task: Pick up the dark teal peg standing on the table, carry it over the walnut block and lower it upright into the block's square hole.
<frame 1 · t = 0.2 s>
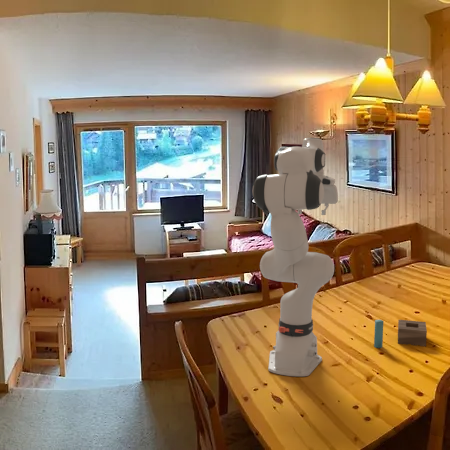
hand: (311, 214, 211), 47 cm above the table, tool pointing down, fingers open, 8 cm apart
teal peg: (378, 346, 199), on the table
walnut hole block: (411, 339, 205), on the table
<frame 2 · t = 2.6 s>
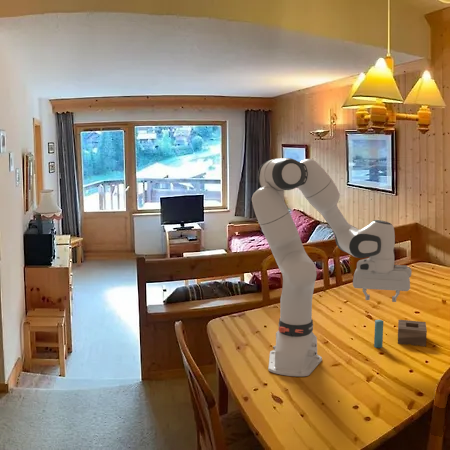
hand: (380, 300, 196), 18 cm above the table, tool pointing down, fingers open, 8 cm apart
nothing on the table moved.
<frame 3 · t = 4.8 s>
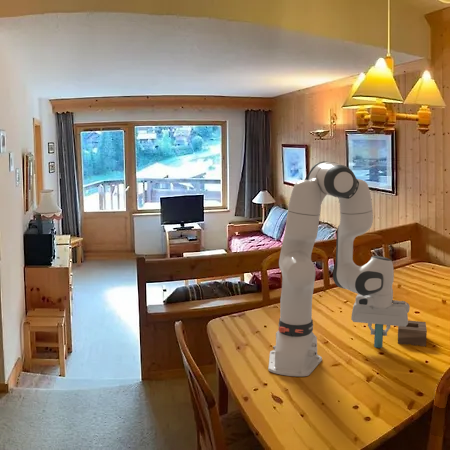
hand: (378, 334, 198), 5 cm above the table, tool pointing down, fingers closed on teal peg, 3 cm apart
teal peg: (378, 346, 199), on the table, touching gripper
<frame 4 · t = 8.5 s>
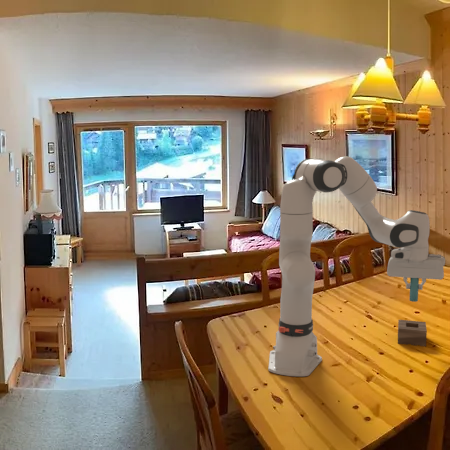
hand: (414, 288, 201), 20 cm above the table, tool pointing down, fingers closed on teal peg, 3 cm apart
teal peg: (413, 300, 202), point 16 cm above the table, touching gripper
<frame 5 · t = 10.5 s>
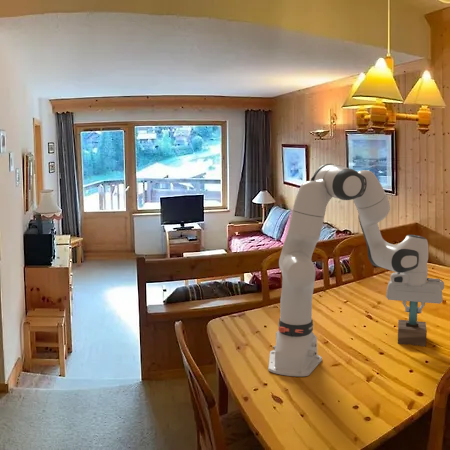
hand: (413, 312, 203), 11 cm above the table, tool pointing down, fingers closed on teal peg, 3 cm apart
teal peg: (412, 323, 204), point 7 cm above the table, touching gripper
when the fingers open (7 cm above the table, at t = 12.1 s): teal peg drops 2 cm, resting in walnut hole block.
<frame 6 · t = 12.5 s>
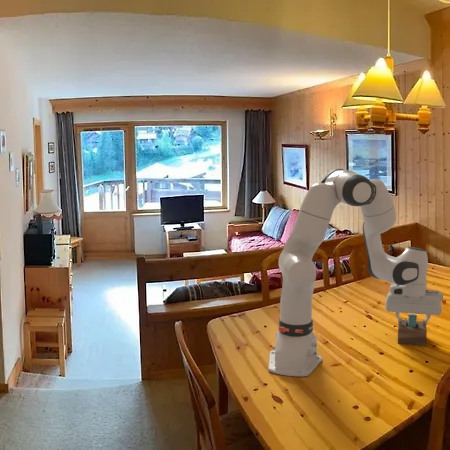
hand: (412, 323, 204), 7 cm above the table, tool pointing down, fingers open, 8 cm apart
teal peg: (411, 340, 205), resting in walnut hole block
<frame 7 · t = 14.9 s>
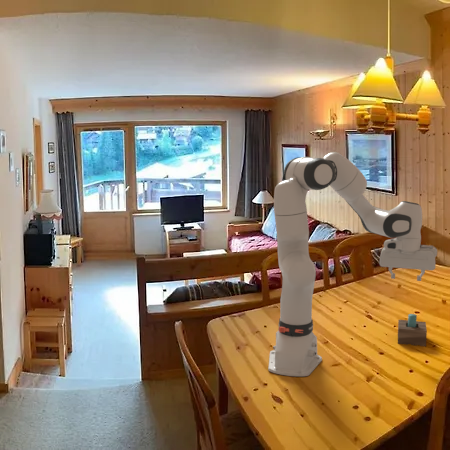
hand: (405, 279, 203), 24 cm above the table, tool pointing down, fingers open, 8 cm apart
nothing on the table moved.
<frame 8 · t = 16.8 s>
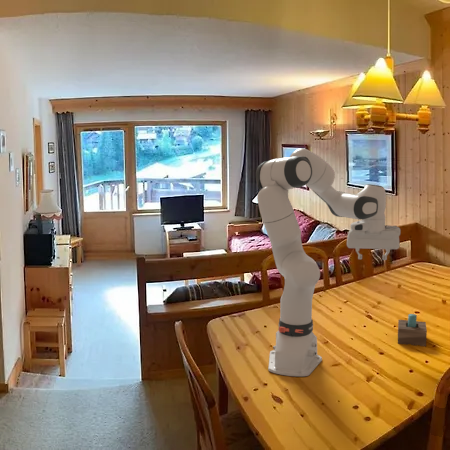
hand: (372, 259, 212), 29 cm above the table, tool pointing down, fingers open, 8 cm apart
nothing on the table moved.
at the end: teal peg 0.1 cm off-centre on the walnut hole block, point 0.0 cm above the walnut hole block's base; teal peg tilted 0°; the gripper is holding nothing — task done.
